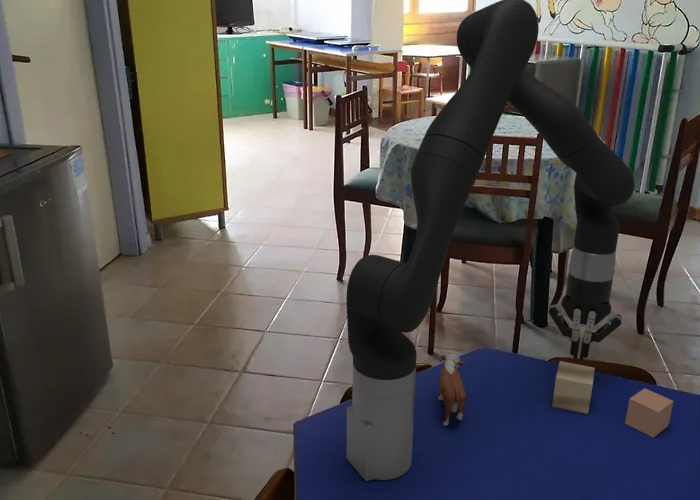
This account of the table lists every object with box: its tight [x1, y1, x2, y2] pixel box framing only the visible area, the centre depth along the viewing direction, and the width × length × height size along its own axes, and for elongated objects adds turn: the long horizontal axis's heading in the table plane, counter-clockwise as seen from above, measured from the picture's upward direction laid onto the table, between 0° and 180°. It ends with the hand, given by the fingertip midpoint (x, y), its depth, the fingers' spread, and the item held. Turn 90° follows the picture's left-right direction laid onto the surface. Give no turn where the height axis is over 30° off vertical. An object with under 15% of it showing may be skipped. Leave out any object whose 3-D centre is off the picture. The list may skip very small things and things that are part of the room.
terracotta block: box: [624, 387, 674, 438], centre depth 113 cm, size 5×5×5 cm
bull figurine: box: [438, 353, 467, 427], centre depth 116 cm, size 4×13×8 cm, turn 174°
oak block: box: [551, 360, 596, 416], centre depth 118 cm, size 6×6×6 cm
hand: (578, 357), depth 125 cm, fingers closed
